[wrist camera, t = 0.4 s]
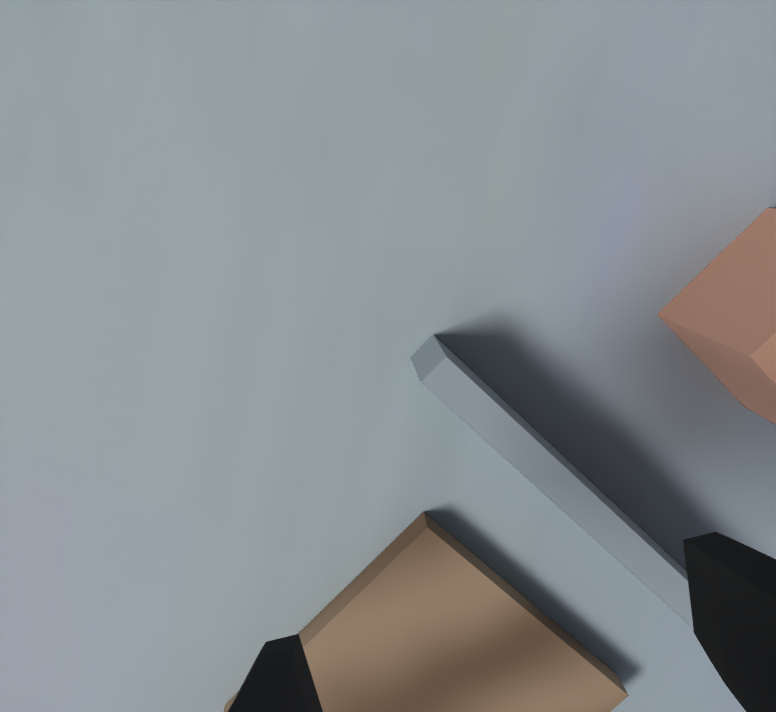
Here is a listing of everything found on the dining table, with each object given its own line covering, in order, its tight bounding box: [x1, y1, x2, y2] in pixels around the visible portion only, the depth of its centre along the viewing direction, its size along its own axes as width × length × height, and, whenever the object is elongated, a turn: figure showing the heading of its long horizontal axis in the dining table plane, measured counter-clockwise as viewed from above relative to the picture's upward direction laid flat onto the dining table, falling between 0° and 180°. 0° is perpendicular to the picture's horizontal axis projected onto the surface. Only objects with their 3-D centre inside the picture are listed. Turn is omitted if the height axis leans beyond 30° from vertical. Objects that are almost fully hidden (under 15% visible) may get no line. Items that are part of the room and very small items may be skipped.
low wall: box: [411, 335, 694, 630], centre depth 22 cm, size 20×1×2 cm, turn 46°
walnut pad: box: [224, 512, 629, 712], centre depth 24 cm, size 10×10×1 cm
